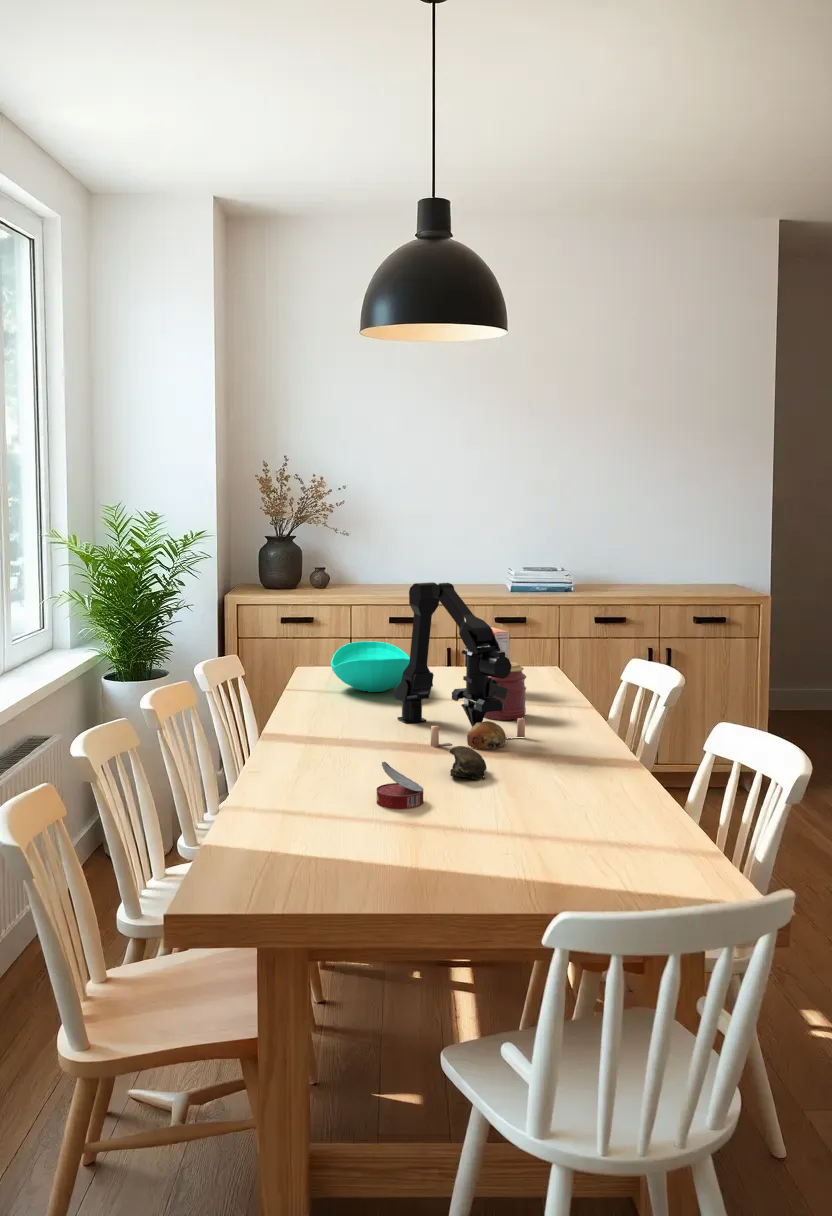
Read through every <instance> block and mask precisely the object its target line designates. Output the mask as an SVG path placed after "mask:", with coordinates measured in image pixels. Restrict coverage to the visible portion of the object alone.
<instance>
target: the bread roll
mask: <svg viewBox="0 0 832 1216" xmlns="http://www.w3.org/2000/svg"><path fill="white" fill-rule="evenodd" d="M506 738H507V737H506V732H505V730H504V729H503V727H502V726H501V725H500V724H497V723H495V722H493V721H490V720H489V721H488V720H483V721H482V722H479V723H476V724H475V725H474V726H473V727H472V726H471V727H470V729H469V730H467V734H466V741H467V746H468V747H470V746H471V747H473V748H472V749H475V748H477V749H476V750H482V749H491V750H498V749H497V748H499V749H501V748H503V747H504V746H505V744H506V743H507V739H506ZM502 746H503V747H502ZM471 747H470V748H471ZM500 747H501V748H500Z"/></svg>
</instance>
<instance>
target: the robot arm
mask: <svg viewBox="0 0 832 1216" xmlns="http://www.w3.org/2000/svg"><path fill="white" fill-rule="evenodd" d="M409 587H410V588H409V592H408V599H409V601H408V603H409V607H410V608H411V610H412V613H413V620H412V621H413V622H412V631H411V643H410V651H409V657H410V662H409V665H408V666H407V667H406V669H405V670H404V672H403V675H402V680H401V683H400V684H399V685H398V686H396V689H394V692H393V693H394V699H395V700H396V701H397V700H398V701H400V702H401V716H397V720H398V721H401V722H402V721H403V723H404V724H411V723H423V722H424V723H425V722H427V719H426V718H424V717H423V700H428V699H430V694H431V691H432V688H433V687H434V684H433V681H434V673H433V672H431V670H430V669H429V666H428V659H429V648H430V637H431V630H432V629H431V628H432V619H433V614H434V613H435V612H436V610H437V609H438V607H439V605H440V604H441V605H442V606H443V607H444V609H445V610H446V612H447V613H448V614H449V615H450V617H451V618H452V619H453V621H454V622H455V623H456V625H457V627H458V628H459V629H458V631H459V632H458V633H459V634H458V635H459V637H460V638H461V639H460V640H461V641H462V642H463V644H464V645H465V648H464V649H463V650H462V651H461V654H462V655H466V665H465V666H466V669H465V670H466V672H465V675H464V676H463V679H462V680H463V681H464V682H465V687H464V688H461V687H460V688H454V689H453V691H452V692H451V700H452V701H455V702H458V701H459V700H461V699H462V700H463V703H462V704H461V707H462V709H463V710H464V712H465V715H466V717H467V718H468V721H469V724H470V726H471V728H472V727H473V726H474V725H475V724H476V723H479V722H484V718H485V717H484V716H485V714H486V713H487V712H493V711H503V702H502V701H501V700H500V699H497V698H495V697H498V698H502V699H503V700H506V697H507V694H508V691H509V689H508V688H505V687H503V686H500V685H498V681H496V680H493V679H491V678H490V677H488V676H491V677H495V678H499V679H504V678H506V677H507V676H508V675H509V673H510V671H511V663H510V662H511V661H510V658H509V659H508V658H507V657H505V652H503V651H500V648H499V644H498V642H497V641H496V638H495V636H494V634H493V631H492V629H491V627H492V626H490V625H489V624H488V623H487V622H486V621H485V620H483V619H481V618H480V617H478V616H476V615H474V613H473V612H472V611H471V610H470V609H469V607H468V606H467V604H466V603H465V602H464V600H463V599H462V597H460V595H459V594H458V592H457V591H456V590H455V587H454V585H453V584H452V583H450V582H437V583H436V582H419V583H417V582H416V583H413V584H412V585H411V586H409ZM485 646H487V647H485ZM477 647H478V648H477ZM493 696H495V697H493Z"/></svg>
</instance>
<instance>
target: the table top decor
mask: <svg viewBox="0 0 832 1216" xmlns="http://www.w3.org/2000/svg"><path fill="white" fill-rule="evenodd" d="M409 662H410V655H408V654H407V653H406V652H405V651H403V649H401V648H399V647H398V646H396V645H393V644H392V643H388V642H382V641H355V642H349V643H346V644H344V645H342V646H340V647H339V648H338V649H337V650H336V651H335V652H334V654H333V656H332V658H331V661H330V665H331V669H332V672H333V674H334V675H335V676H336V677H337V678H338V679H339V680H340V681H341V682H343V683H344V684H346V685H348V686H350V687H352V688H354V689H355V690H359V691H363V692H365V691H368V692H367V693H376V692H377V693H379V692H380V693H382V692H385V691H387V690H390V689H393V688H397V687H398V686H399V684H400V683H401V680H402V675H403V672H404V670H405V669H406V667H407V666H408V665H409Z"/></svg>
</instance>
